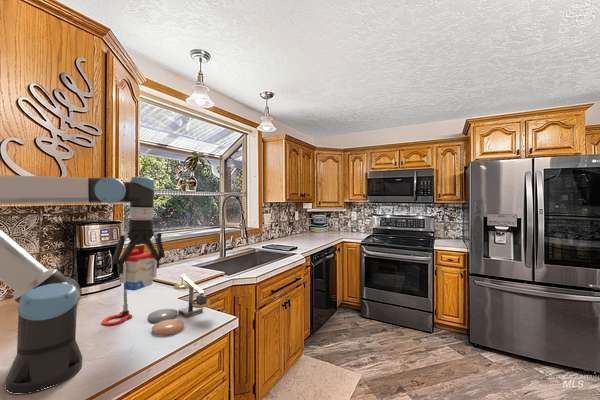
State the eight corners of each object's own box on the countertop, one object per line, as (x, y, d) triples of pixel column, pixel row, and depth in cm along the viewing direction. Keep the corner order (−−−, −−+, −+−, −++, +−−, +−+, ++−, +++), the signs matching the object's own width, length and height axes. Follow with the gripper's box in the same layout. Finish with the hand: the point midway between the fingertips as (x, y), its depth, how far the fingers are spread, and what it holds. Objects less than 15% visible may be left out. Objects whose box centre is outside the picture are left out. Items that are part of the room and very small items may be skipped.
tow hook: (110, 328, 100) (134, 318, 108) (110, 295, 99) (133, 287, 108) (96, 324, 103) (121, 314, 112) (96, 291, 103) (120, 284, 111)
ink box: (134, 291, 92) (136, 249, 92) (123, 289, 93) (124, 248, 93) (153, 284, 100) (154, 245, 101) (142, 283, 101) (143, 244, 102)
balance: (196, 324, 104) (197, 287, 105) (168, 307, 120) (170, 275, 120) (214, 317, 110) (215, 282, 111) (185, 302, 126) (187, 272, 126)
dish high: (154, 325, 102) (154, 322, 102) (143, 317, 109) (143, 314, 109) (182, 316, 111) (182, 313, 111) (170, 309, 118) (170, 306, 118)
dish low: (159, 339, 92) (159, 335, 92) (147, 328, 99) (147, 325, 99) (189, 328, 101) (189, 325, 101) (176, 319, 108) (176, 316, 108)
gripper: (108, 220, 86) (105, 288, 86) (176, 218, 103) (174, 276, 103) (102, 219, 91) (99, 283, 91) (167, 217, 108) (165, 272, 108)
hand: (139, 279), depth 97 cm, fingers closed on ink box, 9 cm apart
